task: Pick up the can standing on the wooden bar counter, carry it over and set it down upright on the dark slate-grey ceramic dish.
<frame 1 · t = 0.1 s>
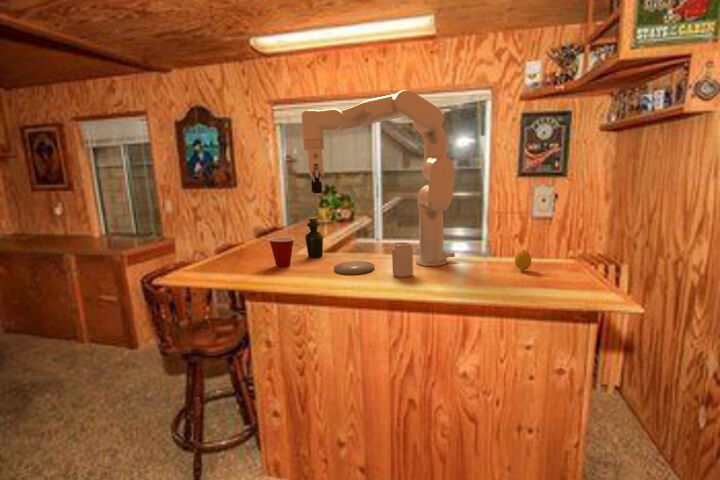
hand: (316, 192, 147), 31 cm above the bar counter, tool pointing down, fingers open, 9 cm apart
lemon: (522, 271, 143), on the bar counter
can: (402, 275, 144), on the bar counter
dish: (354, 269, 155), on the bar counter
potion bottle: (315, 257, 179), on the bar counter
plastic cup: (283, 266, 166), on the bar counter
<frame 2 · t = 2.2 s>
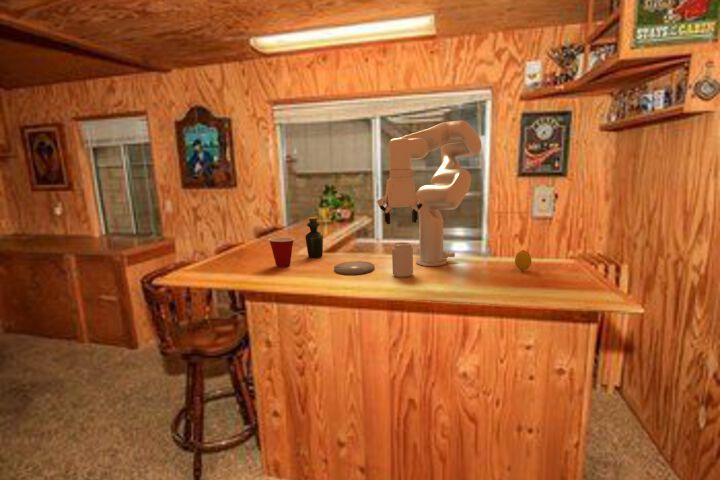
hand: (401, 222, 140), 20 cm above the bar counter, tool pointing down, fingers open, 9 cm apart
nothing on the bar counter moved.
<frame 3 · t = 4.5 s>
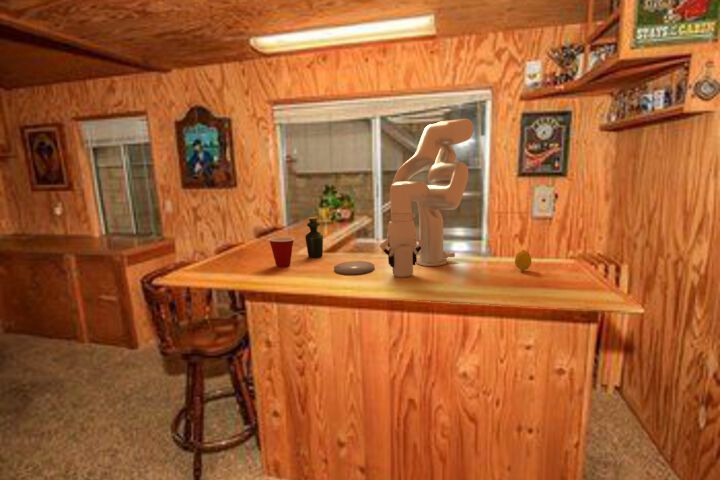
hand: (402, 265, 143), 4 cm above the bar counter, tool pointing down, fingers closed on can, 7 cm apart
can: (402, 275, 144), on the bar counter, touching gripper
everything else where it was.
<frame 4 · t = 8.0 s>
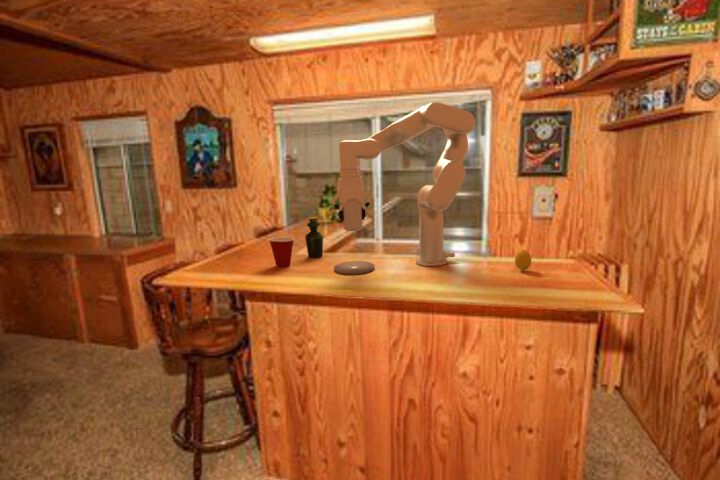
hand: (352, 219, 151), 20 cm above the bar counter, tool pointing down, fingers closed on can, 7 cm apart
can: (353, 230, 152), point 16 cm above the bar counter, touching gripper
everything else where it was.
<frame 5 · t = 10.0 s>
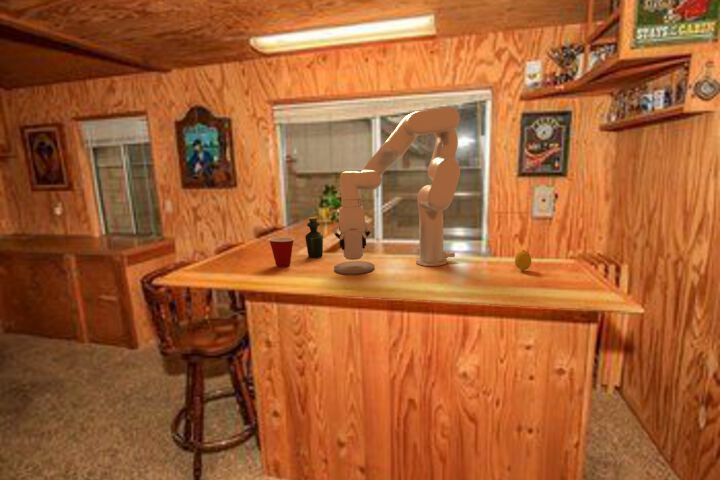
hand: (353, 248, 154), 9 cm above the bar counter, tool pointing down, fingers closed on can, 7 cm apart
can: (353, 258, 154), point 4 cm above the bar counter, touching gripper
everything else where it was.
when the fingers open (6 cm above the bar counter, at t = 11.5 s): can drops 1 cm, resting on dish.
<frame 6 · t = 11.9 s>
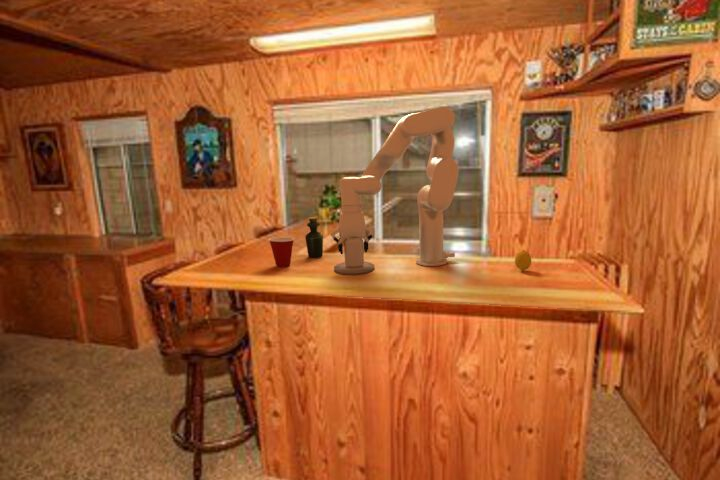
hand: (353, 252, 154), 7 cm above the bar counter, tool pointing down, fingers open, 9 cm apart
can: (354, 266, 155), point 1 cm above the bar counter, touching dish
everything else where it was.
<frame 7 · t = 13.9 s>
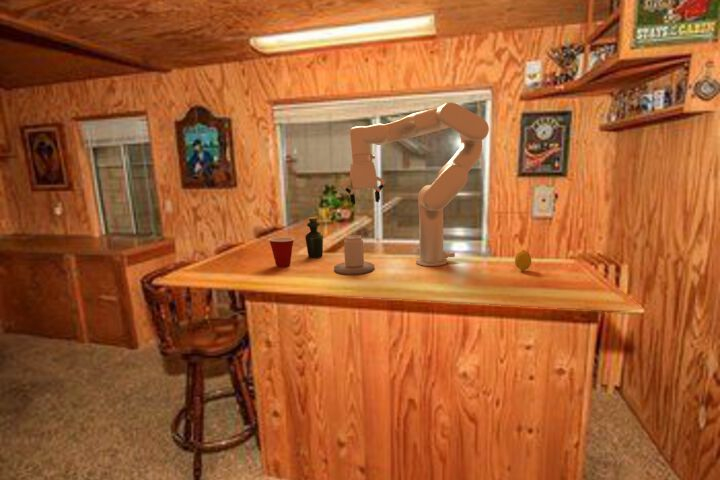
hand: (365, 203, 156), 26 cm above the bar counter, tool pointing down, fingers open, 9 cm apart
nothing on the bar counter moved.
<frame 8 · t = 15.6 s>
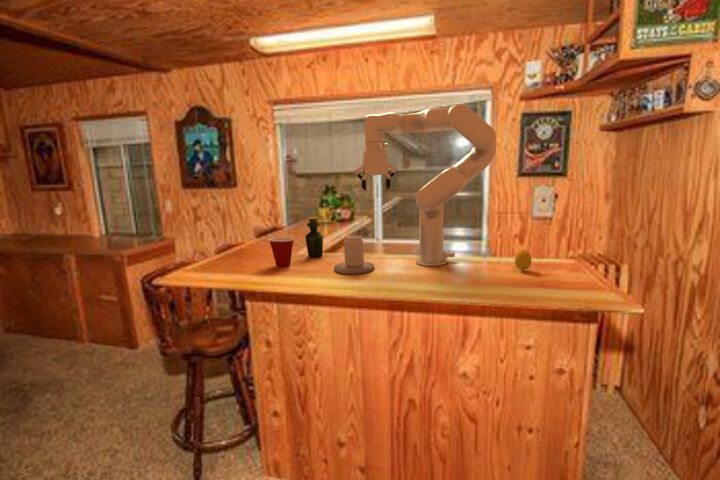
hand: (376, 189, 161), 30 cm above the bar counter, tool pointing down, fingers open, 9 cm apart
nothing on the bar counter moved.
at the end: can inside the target area on the dish (0.2 cm from its centre), point 1.1 cm above the dish's base; can tilted 0°; the gripper is holding nothing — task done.
